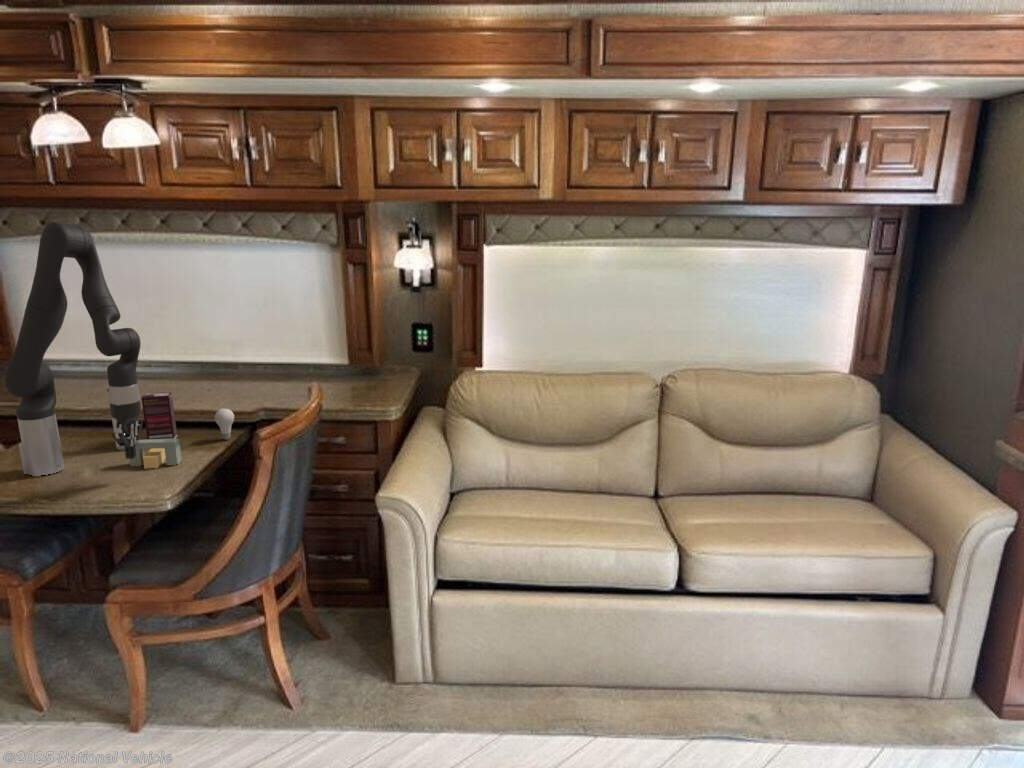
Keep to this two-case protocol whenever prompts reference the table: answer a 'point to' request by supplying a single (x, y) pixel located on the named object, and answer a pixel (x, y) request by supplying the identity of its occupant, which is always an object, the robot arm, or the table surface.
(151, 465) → the plug
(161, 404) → the supplement box
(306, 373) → the table surface
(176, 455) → the grey-blue bridge block
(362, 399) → the table surface
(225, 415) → the lightbulb
